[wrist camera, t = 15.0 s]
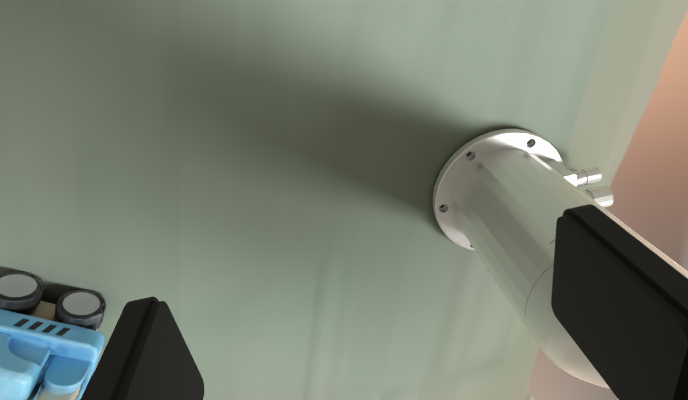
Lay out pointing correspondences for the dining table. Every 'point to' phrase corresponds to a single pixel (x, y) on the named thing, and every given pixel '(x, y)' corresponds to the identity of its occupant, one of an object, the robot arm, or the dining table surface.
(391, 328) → the dining table surface
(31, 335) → the toy excavator
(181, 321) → the dining table surface
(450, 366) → the dining table surface
